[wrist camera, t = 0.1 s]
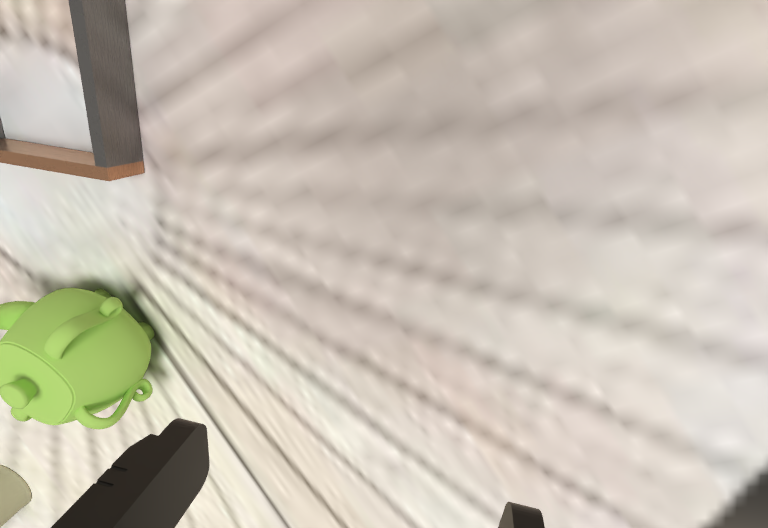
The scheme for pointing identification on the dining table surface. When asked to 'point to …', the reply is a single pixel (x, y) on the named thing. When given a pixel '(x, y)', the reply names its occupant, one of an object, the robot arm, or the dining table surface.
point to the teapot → (72, 357)
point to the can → (12, 494)
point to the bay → (95, 101)
